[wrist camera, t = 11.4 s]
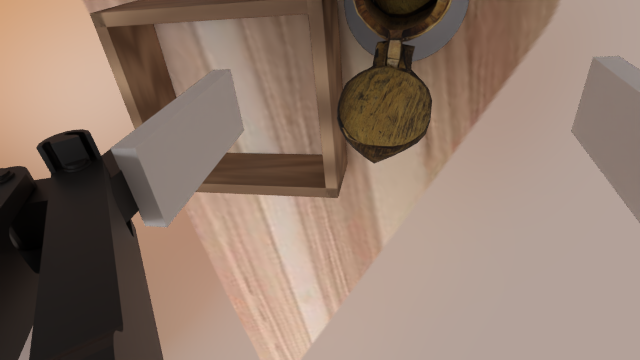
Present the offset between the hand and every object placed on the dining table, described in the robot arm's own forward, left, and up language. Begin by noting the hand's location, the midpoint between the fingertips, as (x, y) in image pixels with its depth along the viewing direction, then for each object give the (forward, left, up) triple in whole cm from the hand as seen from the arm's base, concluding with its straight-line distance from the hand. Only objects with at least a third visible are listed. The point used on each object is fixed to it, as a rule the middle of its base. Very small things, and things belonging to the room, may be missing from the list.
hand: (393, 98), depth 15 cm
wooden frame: (+8, -17, -25) cm, 31 cm away
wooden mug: (0, 0, -24) cm, 24 cm away
